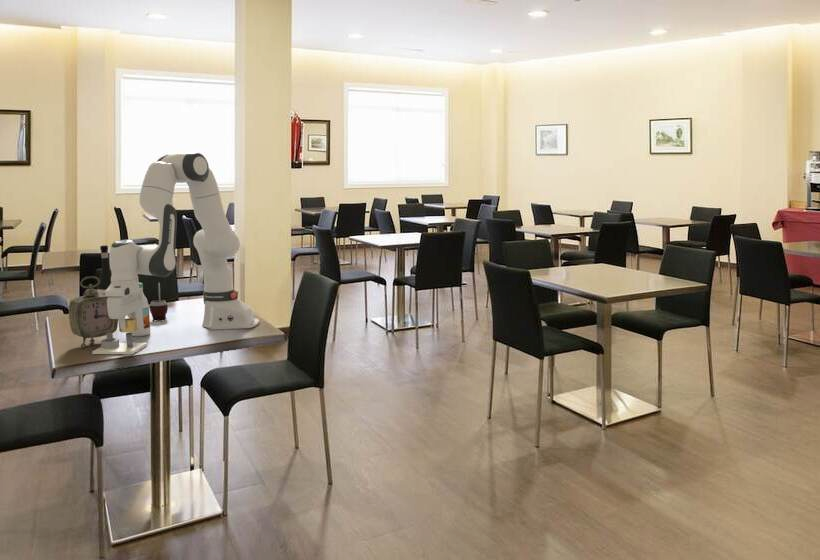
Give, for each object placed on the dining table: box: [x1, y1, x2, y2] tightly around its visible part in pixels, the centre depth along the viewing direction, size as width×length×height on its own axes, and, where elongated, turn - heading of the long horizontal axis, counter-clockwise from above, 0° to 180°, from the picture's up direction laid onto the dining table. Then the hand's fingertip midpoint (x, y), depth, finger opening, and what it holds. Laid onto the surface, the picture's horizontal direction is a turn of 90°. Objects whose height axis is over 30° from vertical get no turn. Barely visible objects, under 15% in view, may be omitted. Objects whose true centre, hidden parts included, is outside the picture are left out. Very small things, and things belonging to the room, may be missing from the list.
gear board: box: [92, 332, 148, 355], centre depth 246 cm, size 14×12×6 cm
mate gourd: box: [149, 282, 169, 322], centre depth 294 cm, size 8×8×15 cm
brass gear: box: [118, 317, 137, 333], centre depth 245 cm, size 5×5×4 cm
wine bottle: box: [96, 244, 112, 296], centre depth 305 cm, size 8×8×30 cm
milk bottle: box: [127, 282, 151, 337], centre depth 268 cm, size 8×8×20 cm
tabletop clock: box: [68, 275, 119, 349], centre depth 253 cm, size 14×9×25 cm, turn 138°
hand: (128, 326), depth 245 cm, fingers closed on brass gear, 5 cm apart
